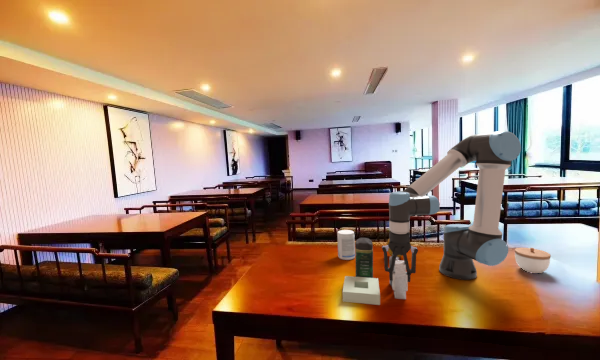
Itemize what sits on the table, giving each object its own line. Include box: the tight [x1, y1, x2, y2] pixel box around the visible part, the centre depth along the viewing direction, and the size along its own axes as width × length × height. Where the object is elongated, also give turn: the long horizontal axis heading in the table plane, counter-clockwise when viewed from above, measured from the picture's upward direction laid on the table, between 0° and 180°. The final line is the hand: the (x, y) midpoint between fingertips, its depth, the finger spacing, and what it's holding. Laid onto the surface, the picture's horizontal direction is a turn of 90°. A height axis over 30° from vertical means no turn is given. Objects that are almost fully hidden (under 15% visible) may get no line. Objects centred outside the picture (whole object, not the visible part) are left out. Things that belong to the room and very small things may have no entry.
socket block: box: [342, 275, 381, 306], centre depth 107 cm, size 14×14×4 cm
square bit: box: [393, 259, 407, 300], centre depth 104 cm, size 4×4×14 cm
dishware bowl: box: [514, 247, 551, 274], centre depth 123 cm, size 13×13×11 cm
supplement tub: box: [336, 229, 356, 261], centre depth 147 cm, size 10×10×15 cm
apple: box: [386, 238, 403, 259], centre depth 145 cm, size 10×10×12 cm
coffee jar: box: [355, 237, 374, 278], centre depth 120 cm, size 10×8×19 cm
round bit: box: [388, 255, 400, 287], centre depth 114 cm, size 4×4×12 cm
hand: (399, 288), depth 104 cm, fingers closed on square bit, 4 cm apart
